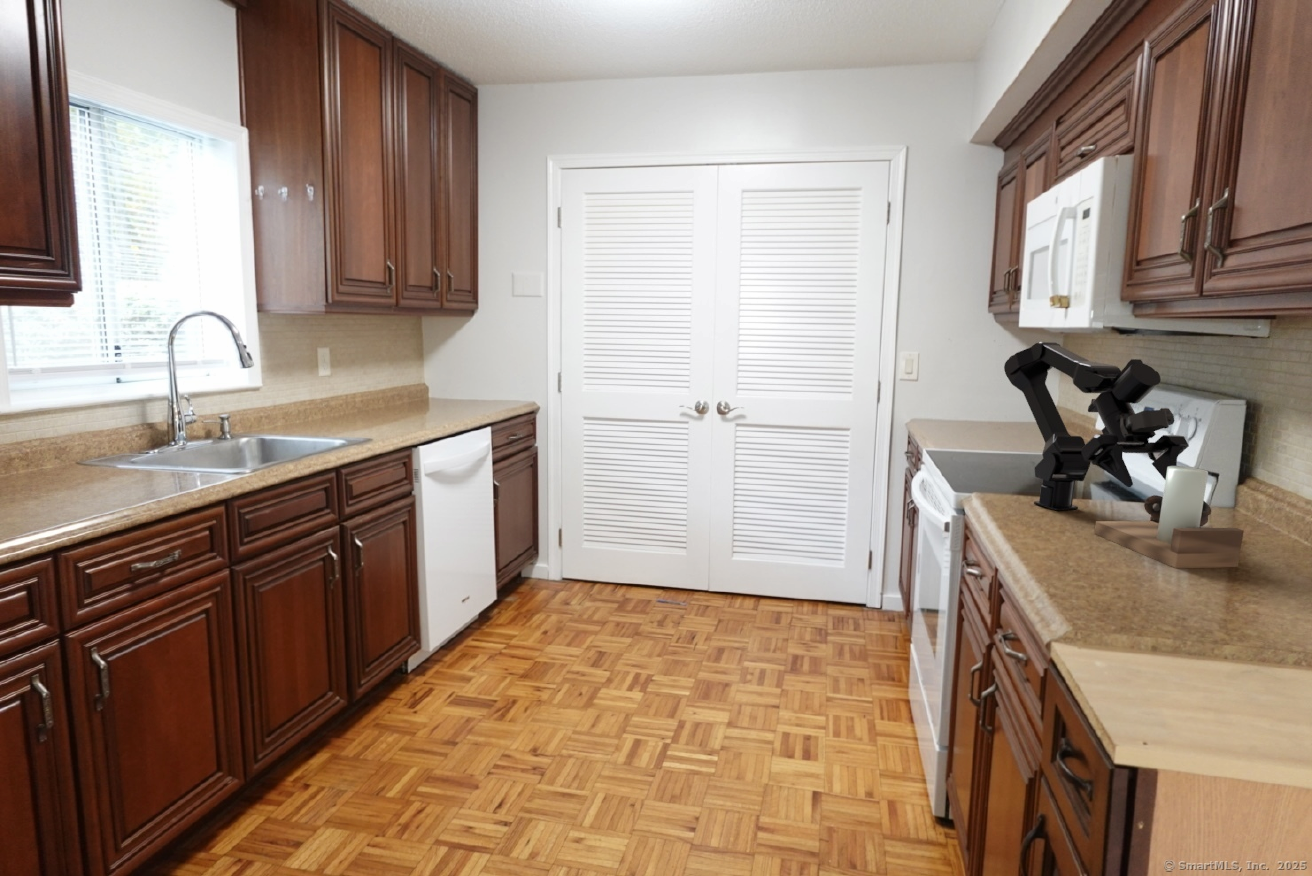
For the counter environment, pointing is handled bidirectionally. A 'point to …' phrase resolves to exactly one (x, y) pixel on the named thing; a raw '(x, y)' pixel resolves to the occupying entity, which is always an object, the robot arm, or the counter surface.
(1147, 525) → the walnut shelf board
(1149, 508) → the rusty ring shackle
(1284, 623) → the counter surface
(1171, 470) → the pale upright pillar block
